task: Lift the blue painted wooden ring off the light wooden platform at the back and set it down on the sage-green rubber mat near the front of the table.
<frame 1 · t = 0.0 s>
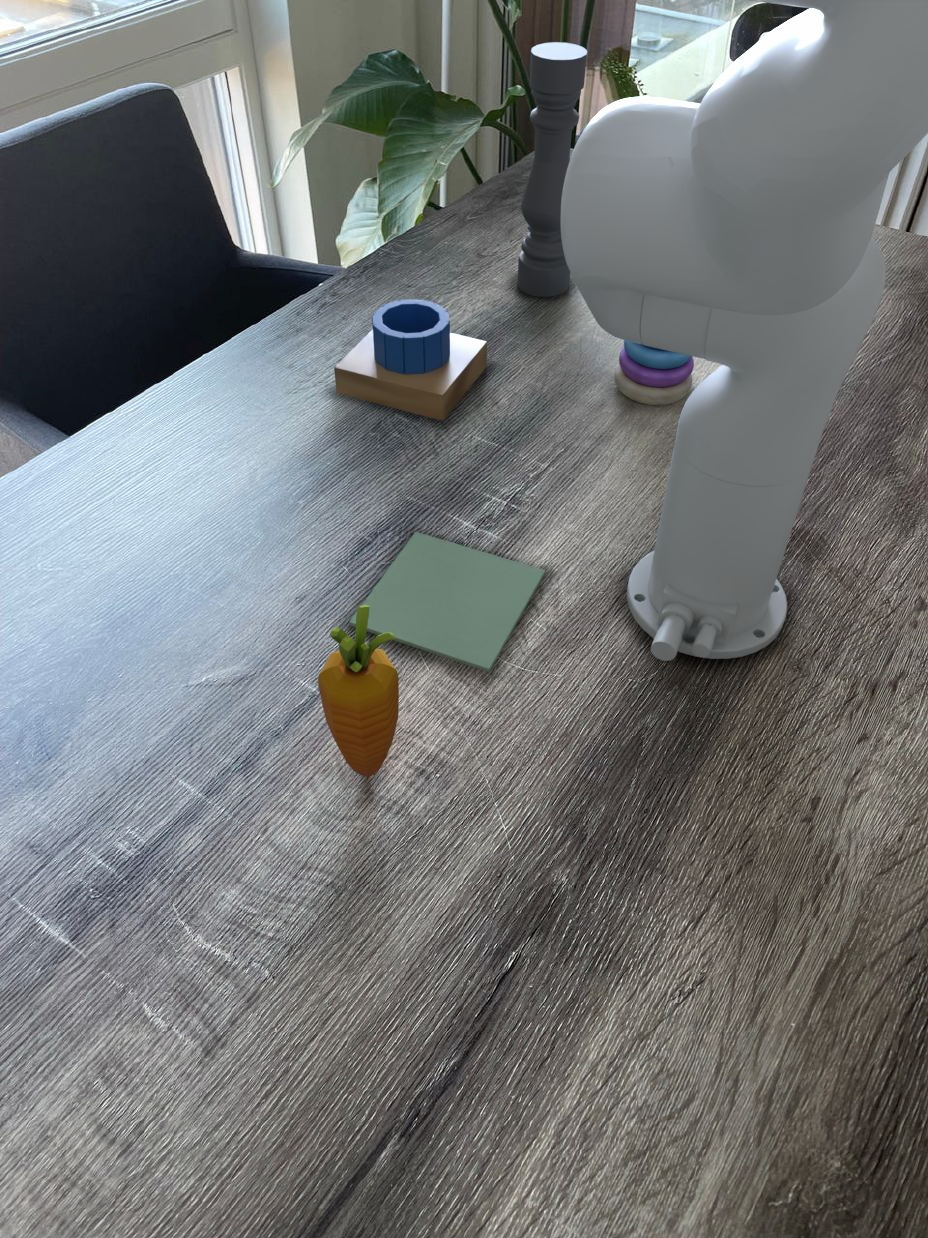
hand: (884, 11, 70), 37 cm above the table, tool pointing down, fingers open, 9 cm apart
ring: (411, 353, 102), point 3 cm above the table, touching platform
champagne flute: (775, 369, 106), on the table
candle holder: (543, 285, 118), on the table
platform: (412, 379, 104), on the table
stacking toy: (651, 388, 103), on the table
mat: (449, 599, 81), on the table
carrot: (368, 775, 69), on the table
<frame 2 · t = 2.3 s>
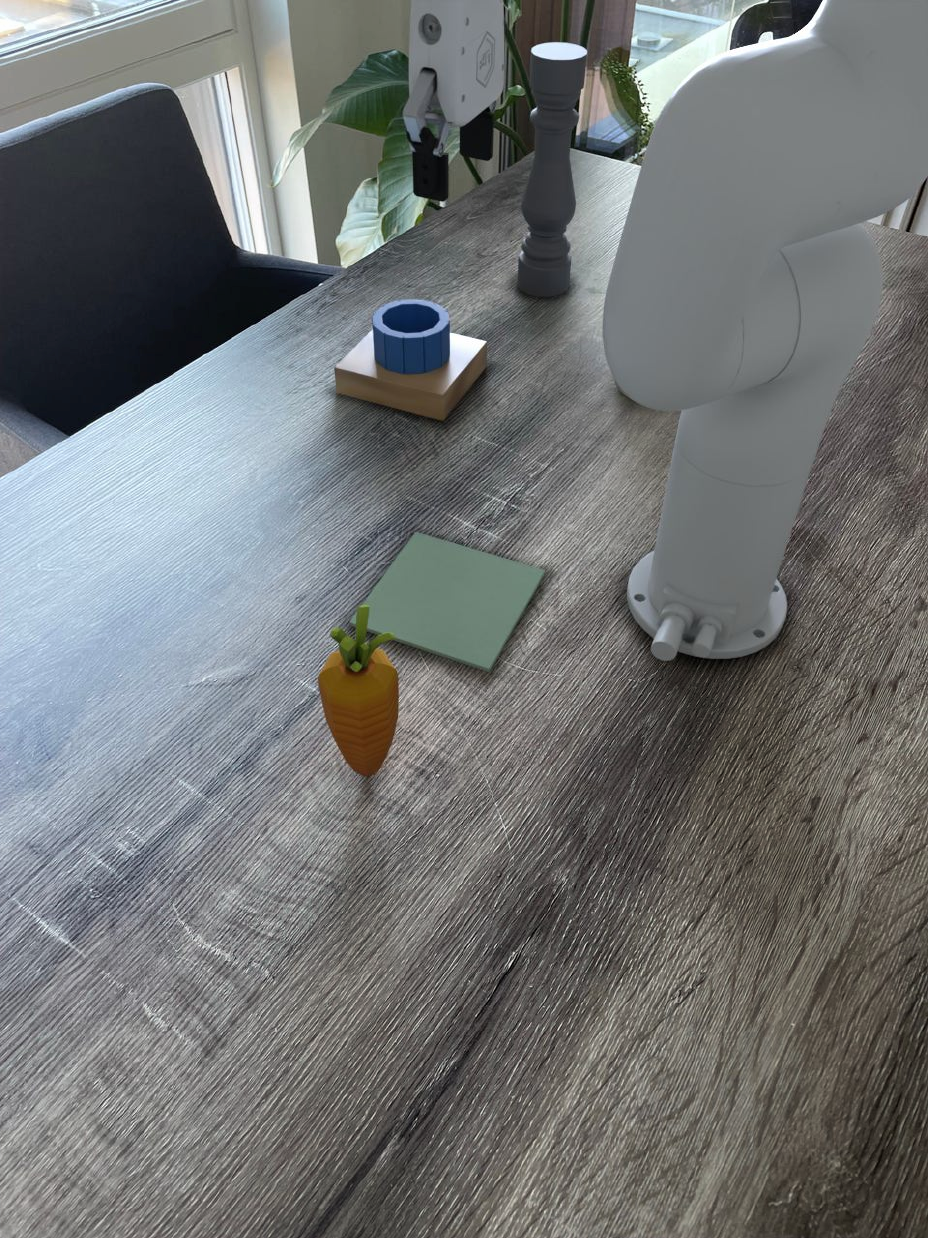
hand: (454, 176, 91), 20 cm above the table, tool pointing down, fingers open, 9 cm apart
nothing on the table moved.
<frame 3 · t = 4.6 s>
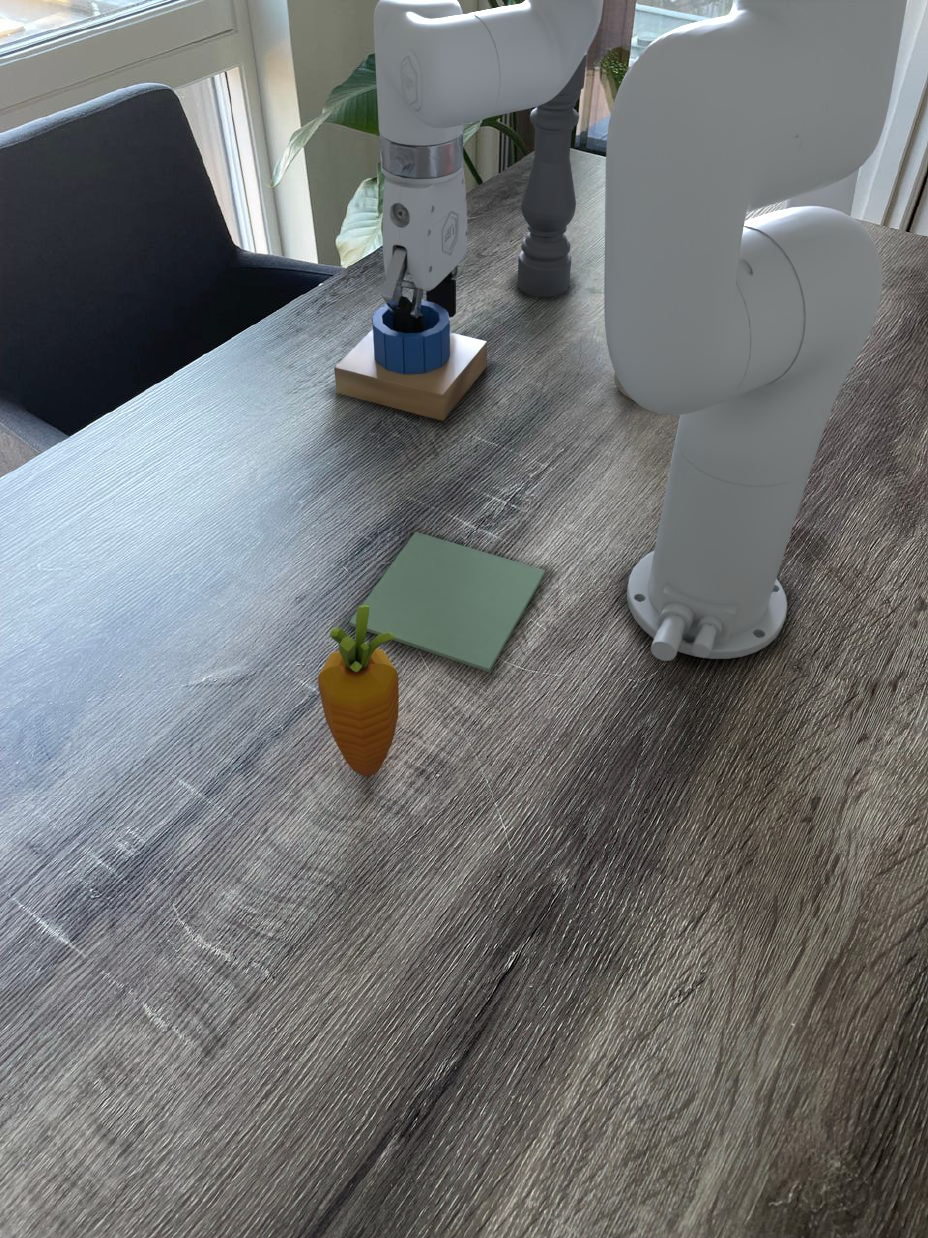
hand: (425, 329, 103), 4 cm above the table, tool pointing down, fingers open, 6 cm apart
nothing on the table moved.
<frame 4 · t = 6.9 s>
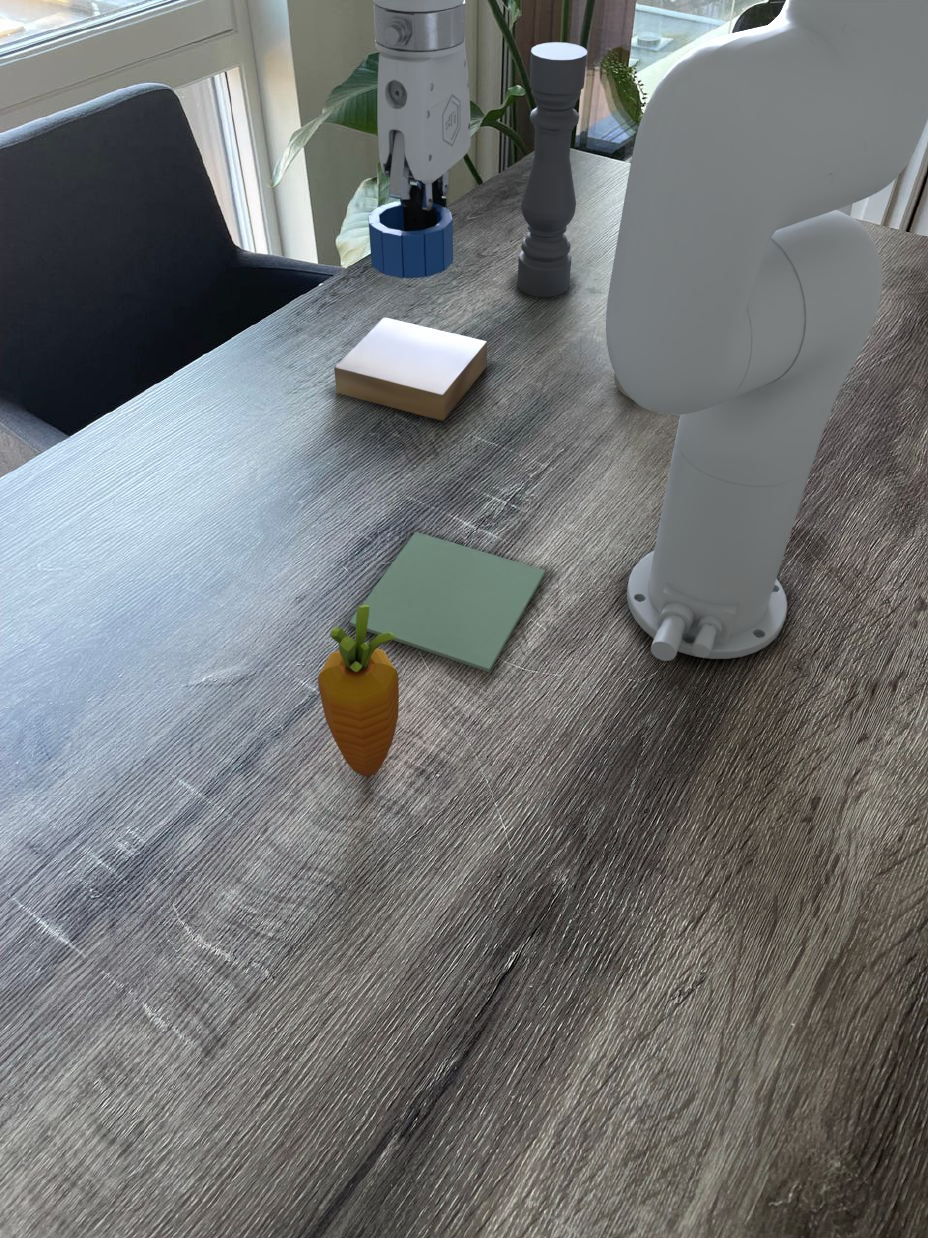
hand: (426, 241, 95), 14 cm above the table, tool pointing down, fingers closed on ring
ring: (411, 259, 94), point 13 cm above the table, touching gripper
everything else where it was.
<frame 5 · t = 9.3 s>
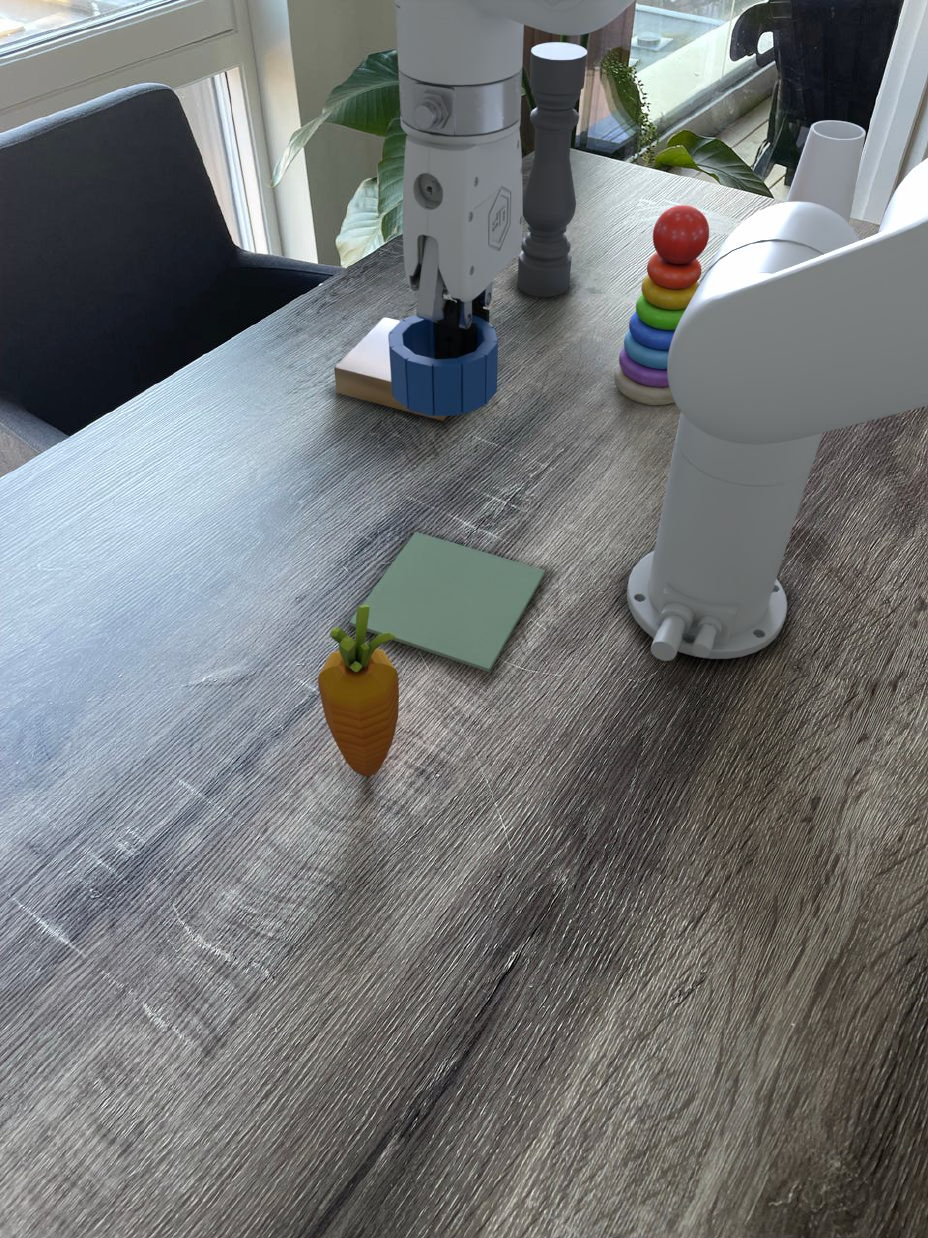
hand: (461, 361, 75), 17 cm above the table, tool pointing down, fingers closed on ring
ring: (443, 386, 73), point 16 cm above the table, touching gripper
everything else where it was.
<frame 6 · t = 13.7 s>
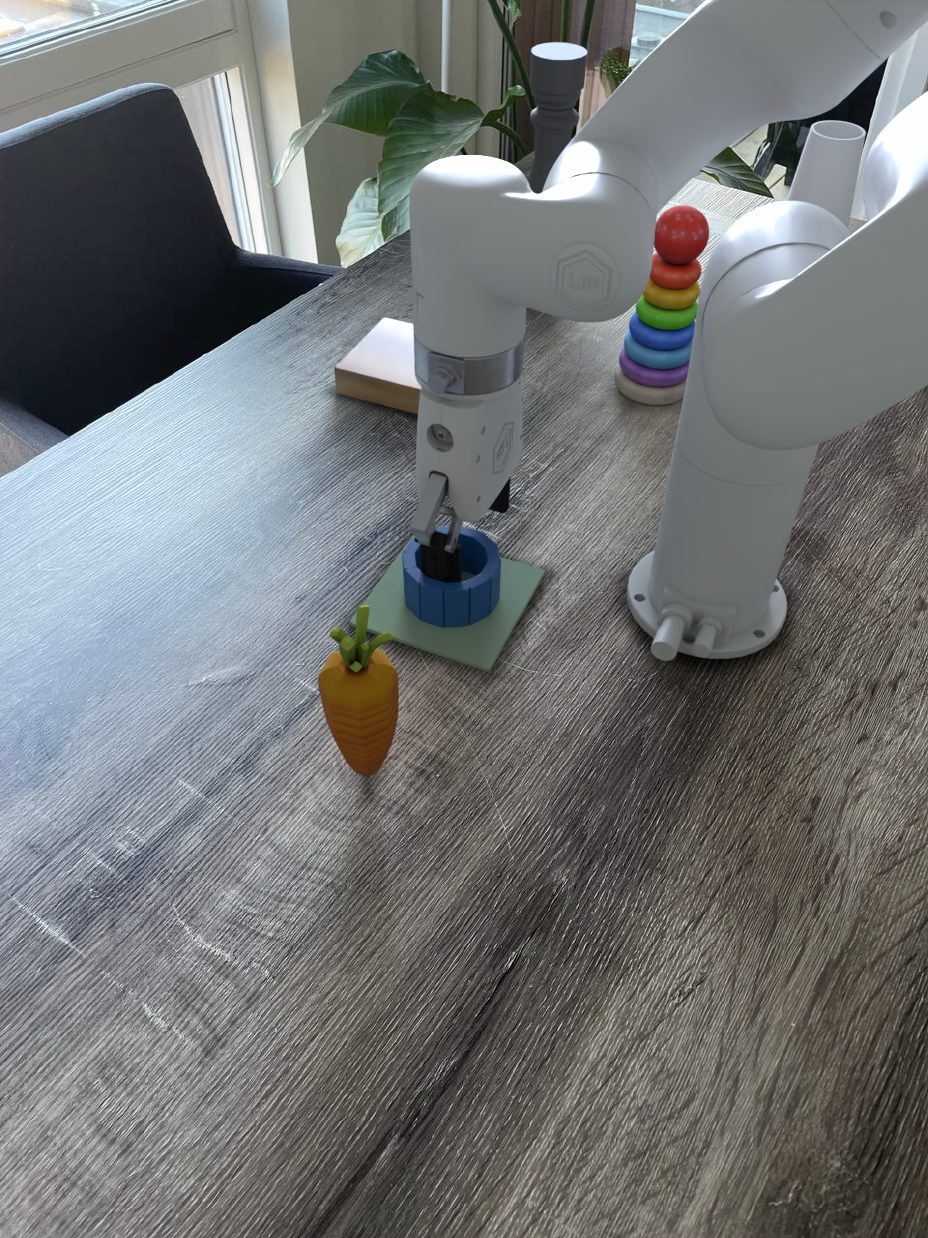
hand: (466, 542, 81), 3 cm above the table, tool pointing down, fingers open, 9 cm apart
ring: (451, 593, 81), resting on mat, touching gripper
everything else where it was.
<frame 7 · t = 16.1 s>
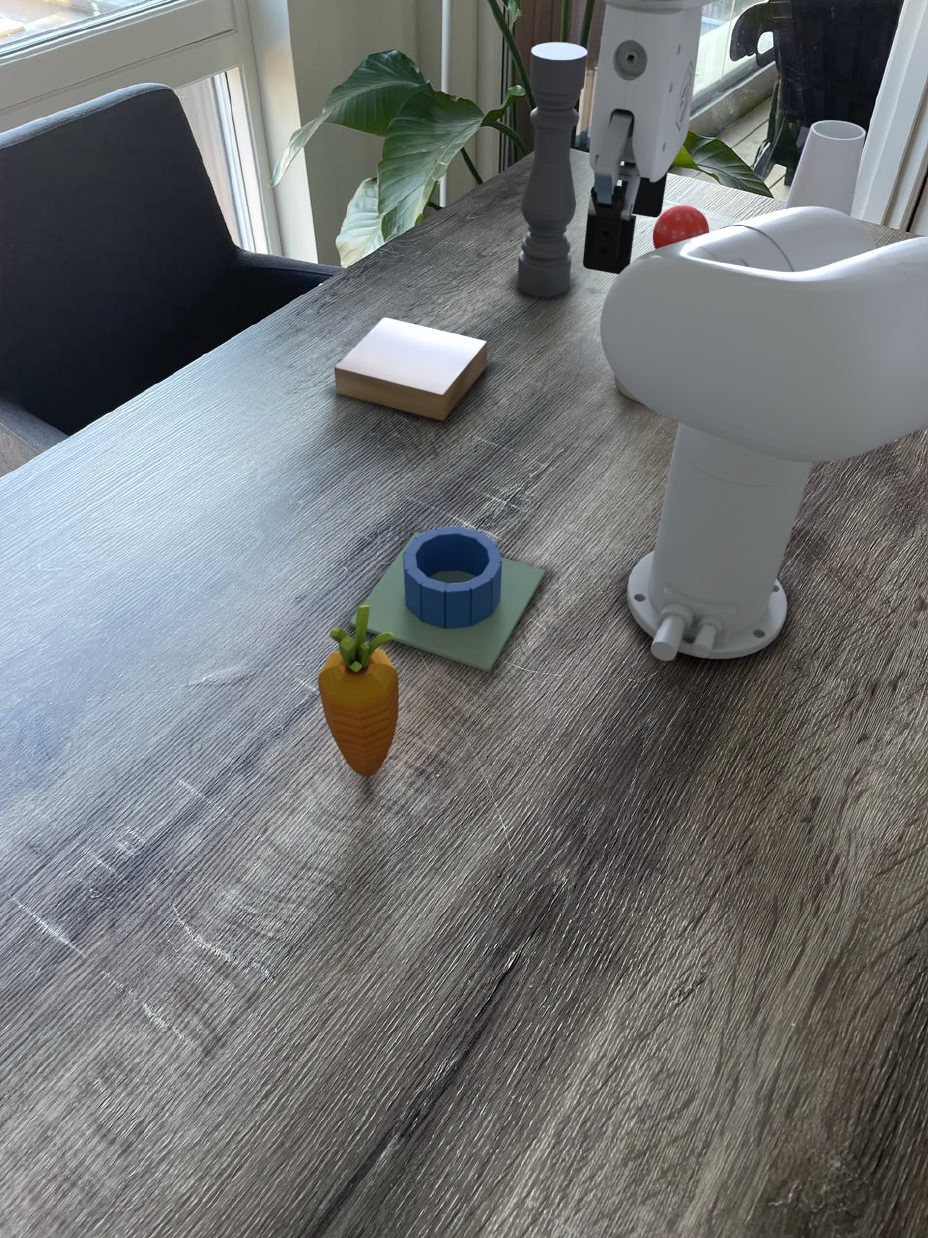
hand: (623, 240, 72), 24 cm above the table, tool pointing down, fingers open, 9 cm apart
ring: (452, 594, 81), resting on mat
everything else where it was.
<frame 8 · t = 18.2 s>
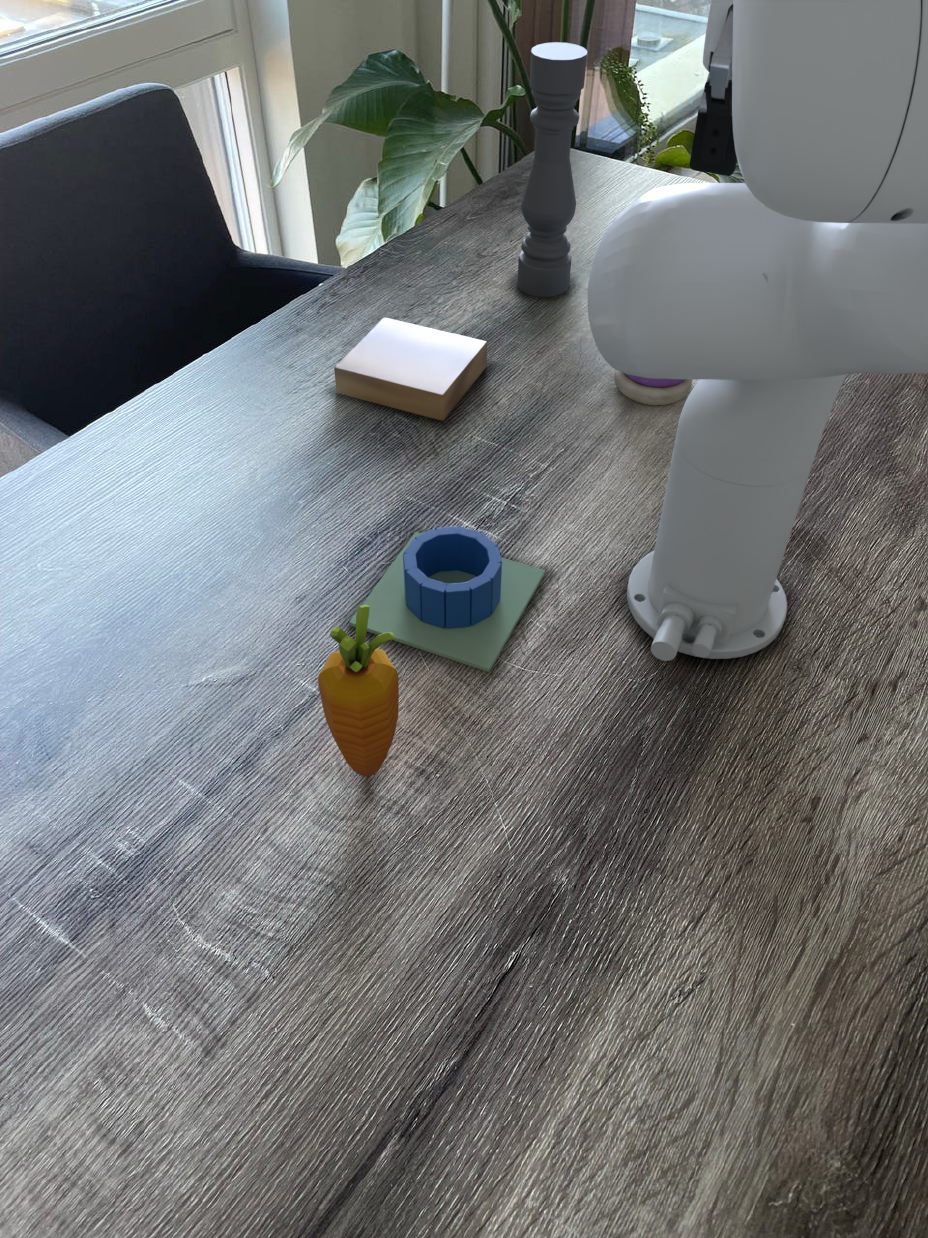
hand: (727, 147, 74), 28 cm above the table, tool pointing down, fingers open, 9 cm apart
nothing on the table moved.
at the end: ring inside the target area on the mat (0.2 cm from its centre), point 0.4 cm above the mat's base; ring touching mat; ring tilted 0° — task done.
